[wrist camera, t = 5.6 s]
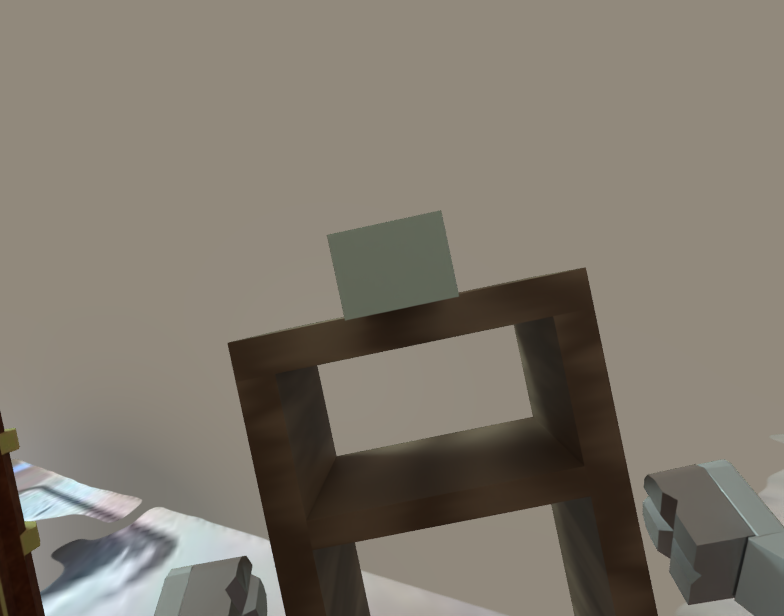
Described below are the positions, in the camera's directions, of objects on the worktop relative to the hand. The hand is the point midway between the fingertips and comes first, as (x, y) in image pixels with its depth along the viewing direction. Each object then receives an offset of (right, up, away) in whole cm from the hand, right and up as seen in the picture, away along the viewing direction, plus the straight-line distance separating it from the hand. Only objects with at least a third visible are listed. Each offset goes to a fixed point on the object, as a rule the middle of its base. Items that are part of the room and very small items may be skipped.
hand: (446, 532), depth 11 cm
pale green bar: (0, +5, +17) cm, 18 cm away
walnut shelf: (+5, -21, +21) cm, 30 cm away
